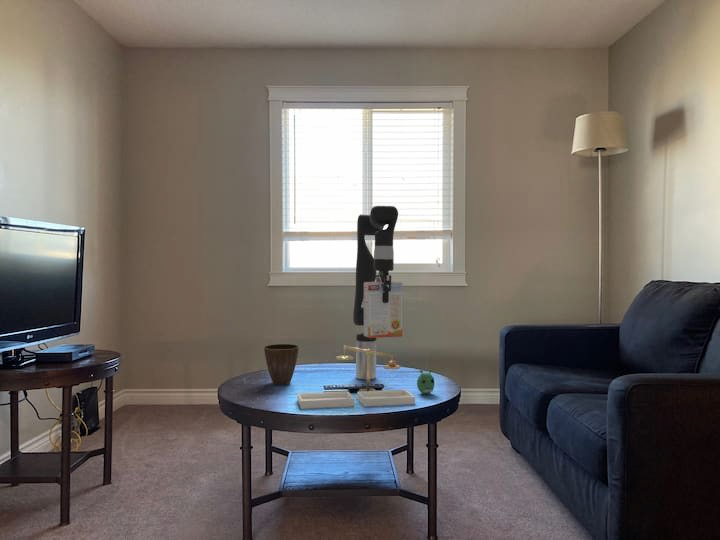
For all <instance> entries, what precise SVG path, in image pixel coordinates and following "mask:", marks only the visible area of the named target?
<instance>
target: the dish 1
mask: <svg viewBox="0 0 720 540" xmlns="http://www.w3.org/2000/svg"><path fill="white" fill-rule="evenodd" d="M297 403H298V405H299V408H300V409H302V410H303V409H319V408H320V409H322V408H323V409H326V408H344V407H347V408H348V407H355V398H354V396H353V395H352V394H351V393H350V391H345V390H343V391H324V392H323V391H321V392H301V393H297Z"/></svg>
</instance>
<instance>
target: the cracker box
mask: <svg viewBox="0 0 720 540" xmlns="http://www.w3.org/2000/svg"><path fill="white" fill-rule="evenodd" d="M382 283H383V282H382ZM383 284H384V283H383ZM386 288H387V287H386ZM382 299H383V292H382V287H381V282H376V281H375V282H364V299H363V305H364V326H363V331H364V336H365V337H368V338H376V339H377V338H397V337H399V338H400V337H401V338H402V337H403V282H402V281H391V291H390V292H389V302H388V303H383V302H382Z"/></svg>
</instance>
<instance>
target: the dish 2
mask: <svg viewBox="0 0 720 540" xmlns="http://www.w3.org/2000/svg"><path fill="white" fill-rule="evenodd" d="M356 398H357V400H358V401H359V402H360V404H361V405H362V406H363V407H379V406H380V407H382V406H401V405H402V406H403V405H405V406H406V405H416V396H415V395H413V394H412V393H411V392H410V391H408V390H407V389H392V390H391V389H389V390H388V389H387V390H386V389H385V390H384V389H383V390H376V391H359V390H358V391H357V395H356Z"/></svg>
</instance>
